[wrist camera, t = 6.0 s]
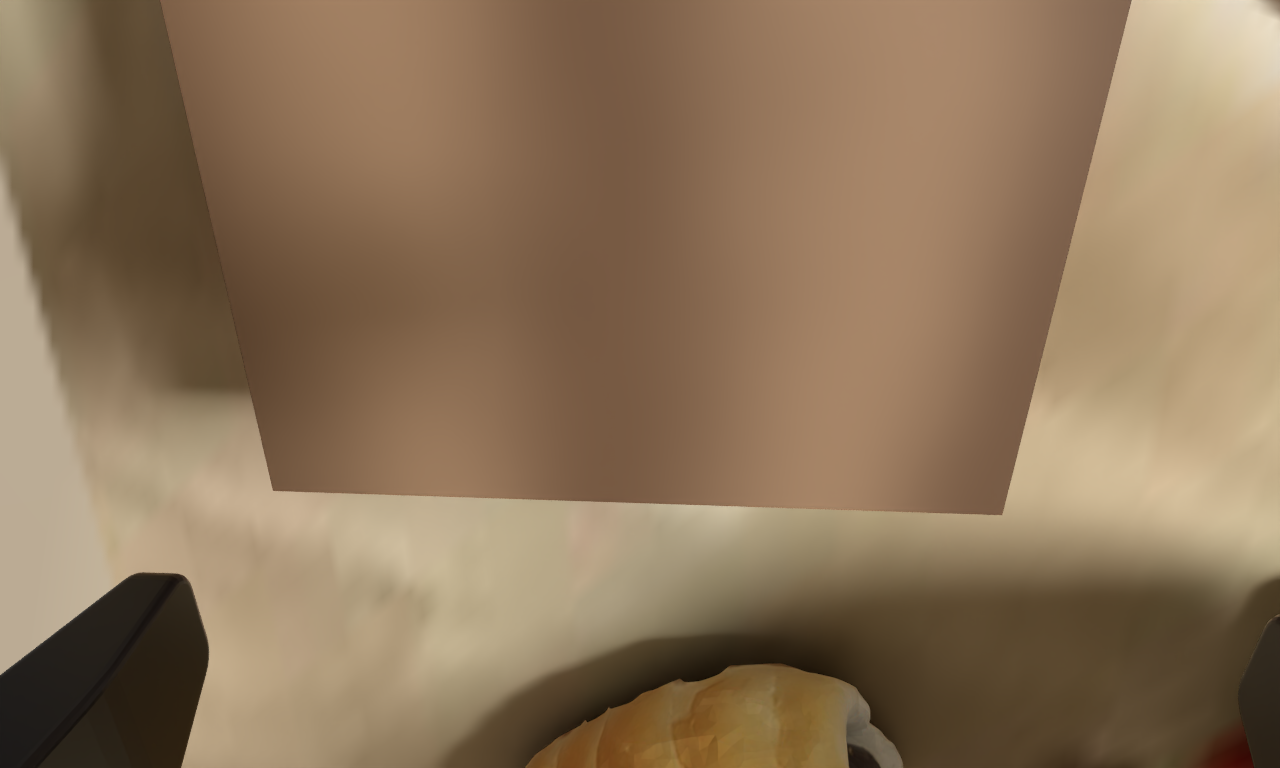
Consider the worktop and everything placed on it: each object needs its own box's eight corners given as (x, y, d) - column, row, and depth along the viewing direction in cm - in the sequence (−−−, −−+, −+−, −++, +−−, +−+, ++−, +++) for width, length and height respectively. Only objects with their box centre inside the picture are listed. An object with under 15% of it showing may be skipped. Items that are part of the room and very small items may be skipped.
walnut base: (1133, -373, 14) (1222, -360, 12) (967, 405, 21) (1002, 514, 19) (178, -383, 15) (74, -372, 12) (321, 386, 22) (273, 490, 19)
